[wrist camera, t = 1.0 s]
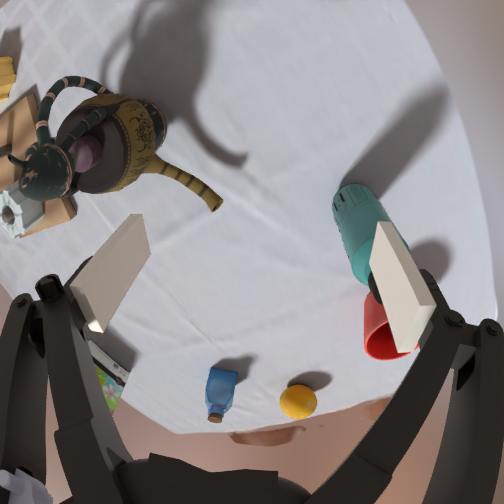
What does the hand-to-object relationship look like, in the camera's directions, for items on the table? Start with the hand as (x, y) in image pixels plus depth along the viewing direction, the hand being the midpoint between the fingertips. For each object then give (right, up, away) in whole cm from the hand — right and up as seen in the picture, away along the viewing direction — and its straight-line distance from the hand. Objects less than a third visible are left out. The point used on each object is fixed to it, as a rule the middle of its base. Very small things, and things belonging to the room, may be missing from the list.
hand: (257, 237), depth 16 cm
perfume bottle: (-7, -30, +50) cm, 59 cm away
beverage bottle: (+14, +7, +24) cm, 29 cm away
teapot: (-14, +15, +22) cm, 30 cm away
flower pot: (+23, -9, +33) cm, 42 cm away
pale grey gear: (-42, +9, +27) cm, 50 cm away
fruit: (+11, -34, +50) cm, 61 cm away
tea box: (-41, -30, +54) cm, 75 cm away
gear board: (-43, +14, +25) cm, 52 cm away
